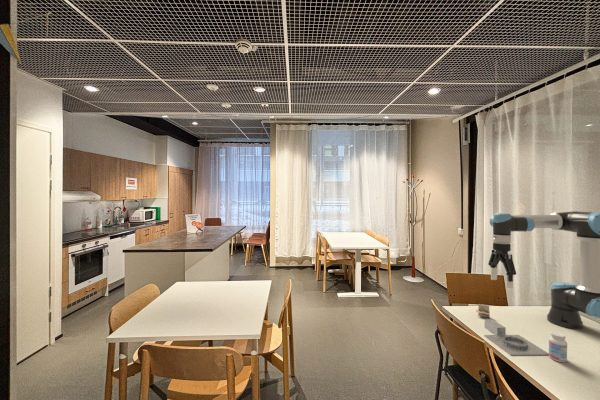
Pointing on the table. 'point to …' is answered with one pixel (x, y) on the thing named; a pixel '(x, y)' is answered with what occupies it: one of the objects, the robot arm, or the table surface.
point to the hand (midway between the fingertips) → (501, 283)
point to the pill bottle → (558, 347)
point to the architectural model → (483, 310)
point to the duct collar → (511, 340)
